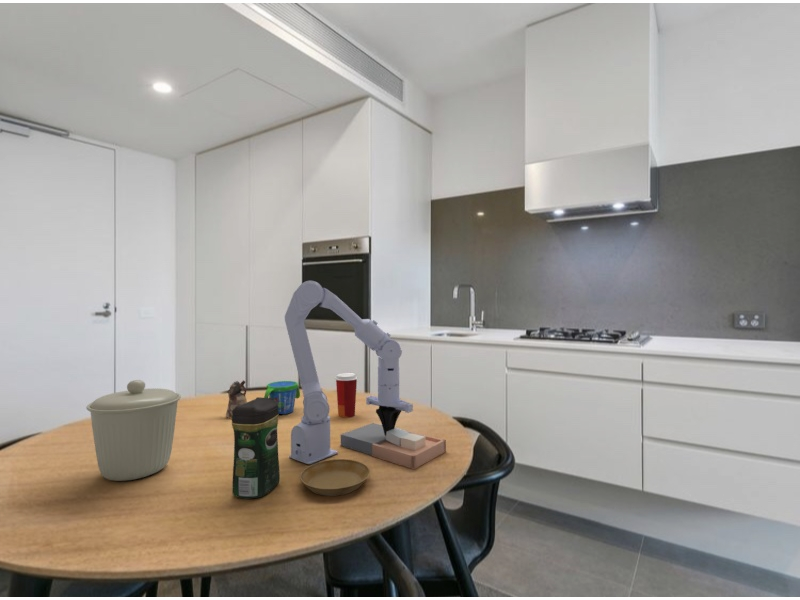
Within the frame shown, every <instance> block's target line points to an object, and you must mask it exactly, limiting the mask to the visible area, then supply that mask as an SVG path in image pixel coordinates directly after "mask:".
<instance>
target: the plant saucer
mask: <svg viewBox="0 0 800 600" xmlns="http://www.w3.org/2000/svg"><path fill="white" fill-rule="evenodd" d="M370 474H371V470H370V468H369V466H368V465H367V464H365V463H364V462H361V461H359V460H354V459H345V458H343V459H342V458H338V459H337V458H336V459H335V458H334V459H328V460H323V461H322V460H321V461H317V462H315V463H312V464H310V465H308V466H307V467H305V468H304V469H303V470H302V471H301V472H300V474H299V478H300V481H301V482H302V484H303V485H304V486H305V488H307V489H308V490H310V491H311V492H313V493H315V494H316V495H319V496H326V497H328V496H329V497H336V496H343V495H346V494H349V493H352V492H354V491H356V490H357V489H358V488H360V487H361V486H362V485H363V484H364V483H365V482H366V480H367V479H368V477H369V476H370Z"/></svg>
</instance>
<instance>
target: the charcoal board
mask: <svg viewBox="0 0 800 600" xmlns="http://www.w3.org/2000/svg"><path fill="white" fill-rule="evenodd" d="M395 428H396V427H395ZM395 428H394V429H395ZM386 441H387V440H386V436H385V434H384V430H383V426H382V424H380V423H379V424H378V423H374V422H371V423H369V424H366V425H363V426H360V427H358V428H355V429H354V428H353V429H352V430H349V431H346V432H343V433H341V434H340V447H344V448H348V449H351V450H354V451H357V452H361V453H363V454H367V455H370V456H372V444H378V445H379V444H382V443H384V442H386Z"/></svg>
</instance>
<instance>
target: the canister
mask: <svg viewBox="0 0 800 600" xmlns="http://www.w3.org/2000/svg"><path fill="white" fill-rule="evenodd" d="M126 389H127V390H123V391H119V392H112V393H109V394H106V395H102V396H100V397H98V398H95V400H93V401H92V402H90V403H88V404H87V405H86V406H85V407H86V410H87V411H88V412H90V419H91V427H92V434H93V442H94V443H93V444H94V450H95V455H96V456H95V457H96V461H97V466H98V471H99V473H100V475H101V476H102V477H103V478H104V479H106V480H109V481H114V482H115V481H116V482H124V481H132V480H133V481H134V480H137V479H141V478H145V477H149V476H152V475H153V474H156V473H158V472H159V471H162V470H163V469H164V468H165V467H166V466H167V464H168V463H169V461H170V459H171V455H172V449H173V444H174V443H173V442H174V437H175V436H174V435H175V426H176V421H177V420H176V418H177V412H178V411H177V410H178V403H179V401H180V399H181V398H182V396H181V394H179V393H177V392H175V391H173V390H170V389H167V388H146V383H145V381H144V380H141V379H134V380H131V381H129V382H128V383H127V384H126Z"/></svg>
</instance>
